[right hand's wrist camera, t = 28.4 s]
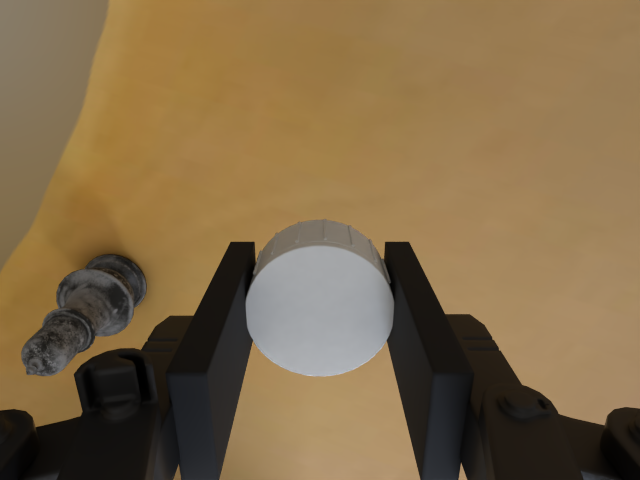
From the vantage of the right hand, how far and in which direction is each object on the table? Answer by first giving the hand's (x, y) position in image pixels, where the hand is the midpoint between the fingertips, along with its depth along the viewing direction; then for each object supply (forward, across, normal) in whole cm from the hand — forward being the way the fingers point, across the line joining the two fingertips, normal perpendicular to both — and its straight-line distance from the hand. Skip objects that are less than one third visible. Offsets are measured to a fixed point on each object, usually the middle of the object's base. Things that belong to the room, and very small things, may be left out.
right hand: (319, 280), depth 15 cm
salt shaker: (+21, +17, +11) cm, 29 cm away
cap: (-2, 0, 0) cm, 2 cm away
